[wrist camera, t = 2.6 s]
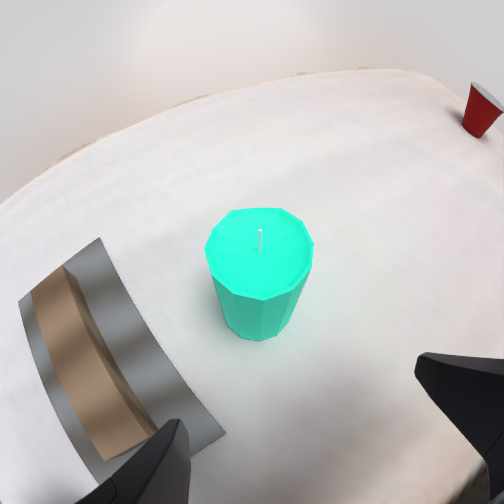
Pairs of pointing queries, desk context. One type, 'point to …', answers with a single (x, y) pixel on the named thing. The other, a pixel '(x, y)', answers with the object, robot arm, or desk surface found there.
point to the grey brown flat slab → (105, 365)
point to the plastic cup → (480, 110)
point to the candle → (259, 268)
